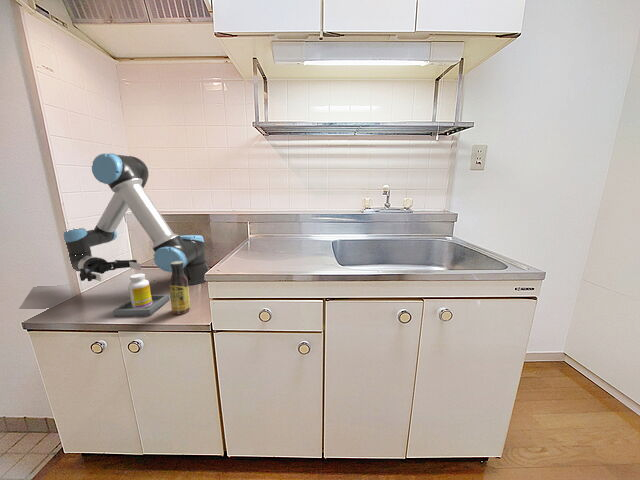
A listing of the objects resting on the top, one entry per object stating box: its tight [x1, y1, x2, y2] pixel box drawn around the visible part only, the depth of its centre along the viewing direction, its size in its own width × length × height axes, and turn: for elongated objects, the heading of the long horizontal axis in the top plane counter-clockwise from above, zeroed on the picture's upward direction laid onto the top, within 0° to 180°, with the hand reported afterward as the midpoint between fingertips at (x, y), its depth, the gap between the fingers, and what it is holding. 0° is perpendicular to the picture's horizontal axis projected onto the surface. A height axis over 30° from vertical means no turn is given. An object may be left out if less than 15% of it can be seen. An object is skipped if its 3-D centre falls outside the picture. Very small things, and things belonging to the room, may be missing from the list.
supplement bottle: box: [128, 273, 152, 309], centre depth 99 cm, size 7×7×13 cm
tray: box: [112, 293, 171, 318], centre depth 100 cm, size 13×13×2 cm
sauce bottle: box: [168, 261, 191, 315], centre depth 96 cm, size 7×6×20 cm
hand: (121, 271), depth 102 cm, fingers open, 13 cm apart
